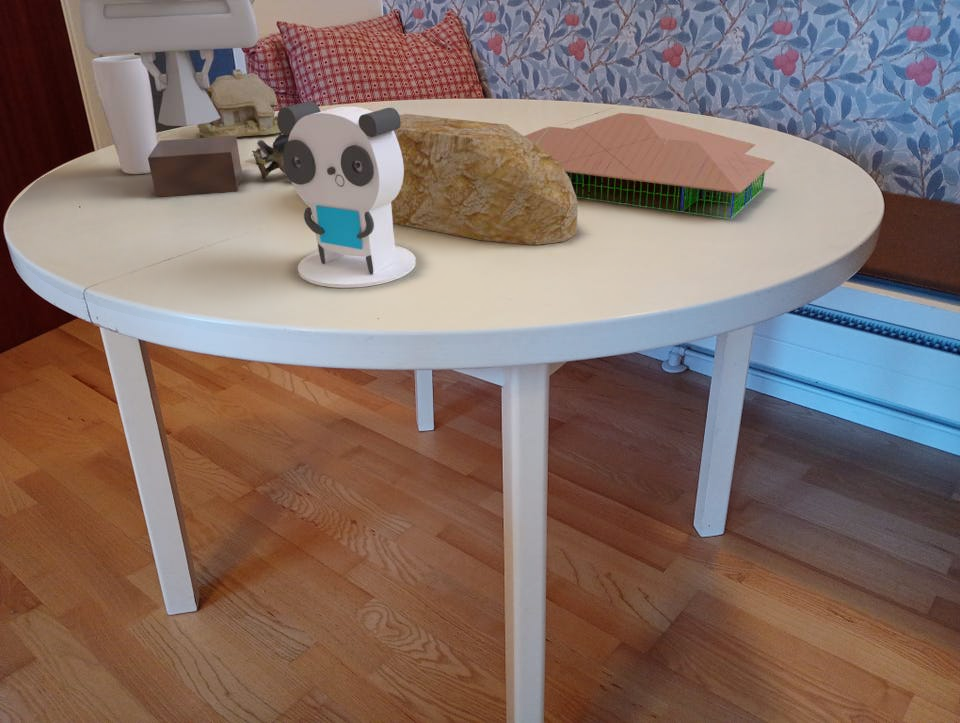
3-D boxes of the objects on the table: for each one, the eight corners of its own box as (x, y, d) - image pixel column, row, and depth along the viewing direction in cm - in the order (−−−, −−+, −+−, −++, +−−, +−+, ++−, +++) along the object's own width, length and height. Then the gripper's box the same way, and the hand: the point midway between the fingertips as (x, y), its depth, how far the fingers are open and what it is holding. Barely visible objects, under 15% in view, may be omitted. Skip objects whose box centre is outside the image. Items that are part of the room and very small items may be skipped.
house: (558, 148, 122) (559, 91, 118) (787, 173, 106) (796, 108, 102) (477, 185, 104) (475, 120, 101) (736, 222, 89) (745, 146, 85)
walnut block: (155, 197, 103) (147, 157, 101) (166, 177, 112) (159, 140, 110) (237, 191, 105) (231, 151, 103) (242, 172, 114) (236, 135, 111)
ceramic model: (274, 122, 145) (266, 62, 140) (296, 133, 136) (289, 69, 131) (194, 132, 138) (182, 70, 134) (211, 144, 130) (200, 78, 125)
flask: (186, 130, 100) (170, 43, 96) (147, 125, 104) (130, 40, 99) (231, 119, 106) (217, 36, 101) (193, 115, 109) (178, 34, 105)
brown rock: (594, 223, 90) (598, 130, 85) (545, 252, 82) (546, 152, 77) (348, 181, 108) (341, 103, 103) (288, 202, 100) (277, 118, 95)
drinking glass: (148, 162, 120) (125, 53, 113) (177, 168, 116) (155, 56, 109) (106, 172, 115) (79, 60, 108) (134, 179, 112) (109, 63, 105)
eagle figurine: (263, 183, 104) (331, 162, 105) (244, 130, 104) (312, 111, 106) (268, 200, 111) (332, 181, 113) (251, 151, 111) (315, 133, 113)
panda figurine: (268, 273, 79) (243, 112, 72) (344, 238, 87) (329, 92, 80) (366, 296, 73) (349, 124, 66) (438, 257, 81) (430, 101, 75)
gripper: (252, -37, 101) (268, 80, 107) (76, -31, 98) (104, 89, 104) (250, -36, 95) (267, 88, 102) (63, -30, 92) (93, 98, 99)
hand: (183, 89), depth 103 cm, fingers closed on flask, 3 cm apart
